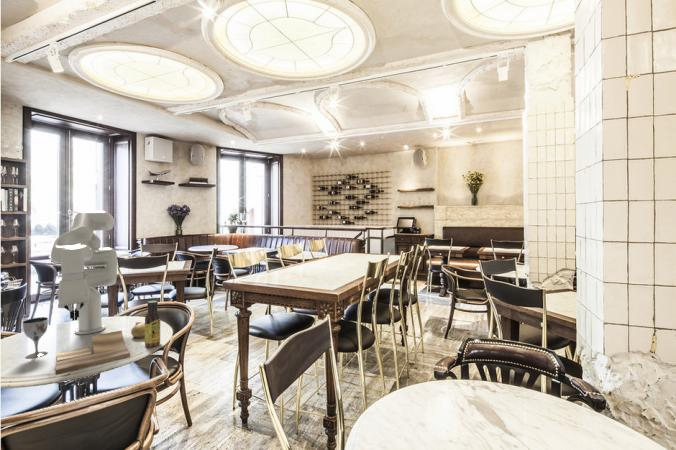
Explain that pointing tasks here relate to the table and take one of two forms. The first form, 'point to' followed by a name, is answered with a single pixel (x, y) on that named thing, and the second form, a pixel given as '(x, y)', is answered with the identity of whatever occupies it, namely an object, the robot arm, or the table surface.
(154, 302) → the sauce bottle
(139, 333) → the onion
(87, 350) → the oak plank
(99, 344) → the oak plank
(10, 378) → the table surface
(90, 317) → the robot arm
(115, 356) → the walnut board
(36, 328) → the wine glass
